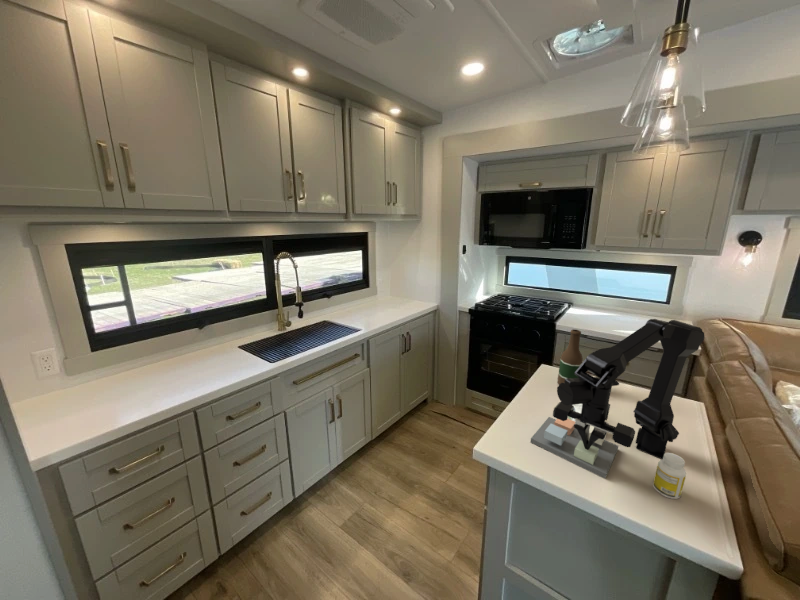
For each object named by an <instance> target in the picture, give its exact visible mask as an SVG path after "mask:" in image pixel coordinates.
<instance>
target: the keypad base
mask: <svg viewBox="0 0 800 600" xmlns="http://www.w3.org/2000/svg"><path fill="white" fill-rule="evenodd" d="M555 421H556V418H554V417H550V416H548V417H547V418H546V419H545V421H544V422H543V423H542V425H541V426H539V428H538V429H537V430H536V431H535V432H534V434H533V435H532V436H531V438H530V442H529V443H531V444H533V445H534V446H537V447H538V448H541V449H543V450H545V451H546V452H548V453H549V452H550V453H551V454H553V455H556V456H557V457H560V458H561V459H563V460H566V461H567V462H570V463H572V464H574V465H576V466H577V467H580V468H582V469H585V470H586V471H588V472H590V473H593V474H595V475H597V476H598V477H601V478H603V479H606V478H607V476H608V474H609V471H610V469H611V467H612V464H613V462H614V460H615V457H616V455H617V453H618V451H619V444H617V443H613V442H611V441H609V440H606V439H604V441H603V443H602V445H599V444H597V443H595V442H594V443H593V444H592V446H595V447H597V448H599V450H598V456H597V458H596V460H595V462H594V464H593V465H592V464H590V463H588V462H585V461H583V460H581V459H579V458H577V457H575V456H574V451H575V448H576V446H577V444H578V443H579V441H580V440H581V441H582V438H581V436H580V434H579V432H578V430H577V429H574V430H573V432H572V433H571V435H570V436H569V435H567V437H566V439H565V440H564V442H563V443H562V445H561V446H560V445H558V444H556V443H554V442H552V441H550V440H547V439H545V438H544V434H545V430H546V429H547V428H548V426H549V425H550V424H553V425H554V422H555Z"/></svg>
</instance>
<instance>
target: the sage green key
mask: <svg viewBox="0 0 800 600" xmlns="http://www.w3.org/2000/svg"><path fill="white" fill-rule="evenodd" d="M598 450H599V448H597V447H595V446H591V447H590V448H589V450H587V449H585V447H584V444H583V441H581V440H580V441H579V443H578V444H577V446H576V448H575V451H574V456H575V457H577V458H579V459H581V460H583V461H585V462H588V463H590V464H592V465H593V464H594V462H595V460H596V458H597V456H598Z"/></svg>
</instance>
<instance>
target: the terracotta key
mask: <svg viewBox="0 0 800 600" xmlns="http://www.w3.org/2000/svg"><path fill="white" fill-rule="evenodd" d="M555 420H556V421H555V422H554V425H556V426H558V427H560V428H563V429H565V430H567V435H569V436H570V435H571V433H572V432H573V430H574V429H575V428H574V425H575V421H572V420H570V419H569V418H567V420H565V421H562V420H560V419H557V418H555Z"/></svg>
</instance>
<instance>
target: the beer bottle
mask: <svg viewBox="0 0 800 600" xmlns="http://www.w3.org/2000/svg"><path fill="white" fill-rule="evenodd" d="M581 334H582V331H581V330H579V329H571V330H570V336H569V340H568V345H567V348H566V349H565V350H563V352H562V354H561V357H560V359H559V368H558V374H557V385H559V384H560V383H564V382H565V379H567V378H571V379H573V378H578V376H576V375H575V374H574V373H575V371H576V370H577V369H578V368H579V367H580V365H581V364H582V363H583V362H584V360H583V355H582V353H581V351H580V340H581Z"/></svg>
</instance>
